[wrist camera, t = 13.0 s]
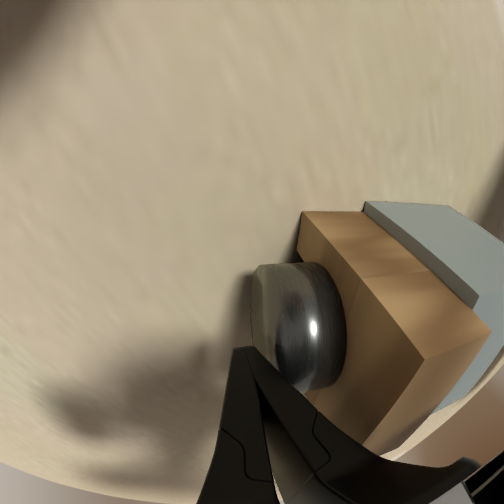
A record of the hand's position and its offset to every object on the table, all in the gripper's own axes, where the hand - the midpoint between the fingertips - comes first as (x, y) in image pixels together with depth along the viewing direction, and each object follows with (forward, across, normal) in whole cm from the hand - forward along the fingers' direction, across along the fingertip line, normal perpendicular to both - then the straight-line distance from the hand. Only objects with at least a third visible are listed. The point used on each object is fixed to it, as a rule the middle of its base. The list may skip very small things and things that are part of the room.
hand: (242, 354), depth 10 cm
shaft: (+3, -8, 0) cm, 8 cm away
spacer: (+4, -5, 0) cm, 6 cm away
